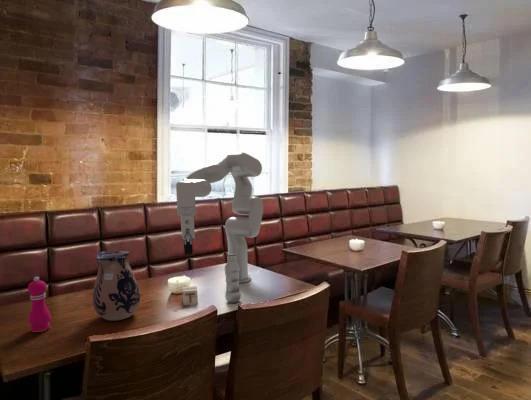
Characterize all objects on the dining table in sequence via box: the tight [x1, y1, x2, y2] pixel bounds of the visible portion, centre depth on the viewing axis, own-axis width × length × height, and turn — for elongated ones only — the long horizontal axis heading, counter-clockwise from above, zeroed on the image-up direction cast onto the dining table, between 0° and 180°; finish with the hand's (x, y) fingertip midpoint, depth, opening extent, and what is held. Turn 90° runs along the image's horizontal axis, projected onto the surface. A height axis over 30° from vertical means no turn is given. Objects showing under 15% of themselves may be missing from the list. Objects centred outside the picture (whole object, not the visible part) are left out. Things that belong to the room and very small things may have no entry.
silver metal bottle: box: [223, 254, 242, 304], centre depth 178 cm, size 6×7×20 cm
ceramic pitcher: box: [92, 250, 141, 322], centre depth 165 cm, size 18×21×25 cm
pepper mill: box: [27, 276, 52, 332], centre depth 153 cm, size 7×7×20 cm
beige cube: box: [182, 285, 199, 306], centre depth 179 cm, size 6×6×6 cm
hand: (188, 251), depth 176 cm, fingers open, 9 cm apart
